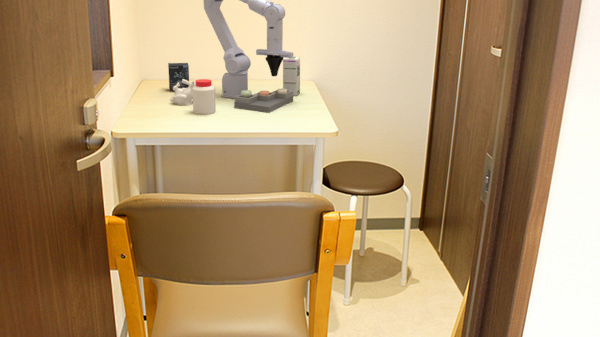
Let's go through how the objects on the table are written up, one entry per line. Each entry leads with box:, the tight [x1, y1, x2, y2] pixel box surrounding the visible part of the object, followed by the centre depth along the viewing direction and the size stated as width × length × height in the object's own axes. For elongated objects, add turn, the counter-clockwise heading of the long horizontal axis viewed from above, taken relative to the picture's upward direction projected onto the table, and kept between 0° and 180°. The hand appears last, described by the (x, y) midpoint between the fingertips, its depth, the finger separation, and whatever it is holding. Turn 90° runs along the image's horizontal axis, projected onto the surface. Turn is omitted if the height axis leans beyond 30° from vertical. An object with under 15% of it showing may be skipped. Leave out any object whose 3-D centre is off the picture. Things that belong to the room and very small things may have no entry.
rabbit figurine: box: [169, 79, 196, 106], centre depth 219 cm, size 12×8×10 cm, turn 102°
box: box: [167, 62, 190, 92], centre depth 239 cm, size 8×6×11 cm
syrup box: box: [282, 56, 301, 97], centre depth 236 cm, size 6×6×14 cm
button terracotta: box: [259, 90, 270, 96], centre depth 221 cm, size 4×4×2 cm
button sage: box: [241, 90, 252, 98], centre depth 217 cm, size 4×4×2 cm
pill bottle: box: [192, 78, 217, 116], centre depth 208 cm, size 8×8×11 cm
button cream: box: [276, 88, 287, 93], centre depth 225 cm, size 4×4×2 cm
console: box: [233, 89, 294, 114], centre depth 222 cm, size 14×20×4 cm
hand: (274, 75), depth 224 cm, fingers closed
